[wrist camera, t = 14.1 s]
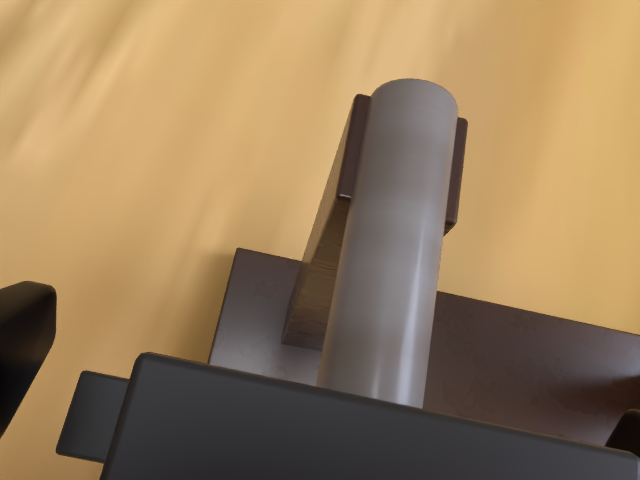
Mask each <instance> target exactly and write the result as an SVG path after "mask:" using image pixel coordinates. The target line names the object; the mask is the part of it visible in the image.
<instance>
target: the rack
mask: <svg viewBox="0 0 640 480" xmlns="http://www.w3.org/2000/svg"><path fill="white" fill-rule="evenodd" d="M467 127H468V122H467V120H466V119H464V118H460V117H458V106H457V103H456V101H455V98H454V97H453V95H452V94H451V93H450V92H449V91H447V90H446V89H445V88H443V87H441V86H439V85H437V84H435V83H432V82H429V81H426V80H420V79H398V80H393V81H390V82H387V83H385V84H383V85H381V86H380V87H378V88H377V89H376V90H375V91H374V93H373V94H372V95H371V96H367V95H362V94H357V95H356V96H355V98H354V100H353V103H352V106H351V109H350V112H349V115H348V119H347V122H346V125H345V128H344V131H343V134H342V137H341V140H340V144H339V147H338V150H337V153H336V156H335V159H334V162H333V165H332V168H331V172H330V175H329V178H328V181H327V184H326V187H325V190H324V193H323V197H322V200H321V203H320V206H319V209H318V212H317V215H316V218H315V222H314V225H313V228H312V231H311V234H310V237H309V240H308V243H307V247H306V250H305V253H304V256H303V259H302V261H298V260H293V259H289V258H284V257H280V256H275V255H270V254H266V253H261V252H257V251H252V250H247V249H243V248H237V249H236V252H235V256H234V260H233V264H232V268H231V272H230V276H229V280H228V284H227V288H226V292H225V296H224V300H223V304H222V308H221V311H220V315H219V319H218V323H217V327H216V331H215V335H214V339H213V343H212V347H211V351H210V355H209V359H208V363H207V364H210V365H215V366H220V367H225V368H230V369H234V370H239V371H244V372H249V373H254V374H258V375H263V376H268V377H273V378H278V379H282V380H287V381H292V382H297V383H302V384H307V385H311V386H316V387H321V388H326V389H331V390H335V391H340V392H345V393H350V394H355V395H359V396H364V397H369V398H374V399H379V400H383V401H388V402H393V403H398V404H403V405H408V406H412V407H417V408H422V409H427V410H432V411H436V412H441V413H446V414H451V415H456V416H460V417H465V418H470V419H475V420H480V421H485V422H489V423H494V424H499V425H504V426H509V427H513V428H518V429H523V430H528V431H533V432H537V433H542V434H547V435H552V436H557V437H562V438H566V439H571V440H576V441H581V442H586V443H590V444H595V445H600V446H605V444H606V442H607V440H608V439H609V437H610V435H611V434H612V432H613V430H614V429H615V427H616V425H617V424H618V422H619V420H620V419H621V417H622V415H623V414H624V413H625V412H626V411H628V410H630V409H637V410H640V335H637V334H633V333H628V332H623V331H619V330H614V329H610V328H605V327H601V326H596V325H591V324H587V323H582V322H578V321H573V320H568V319H564V318H559V317H555V316H550V315H546V314H541V313H536V312H532V311H527V310H523V309H518V308H513V307H509V306H504V305H500V304H495V303H490V302H486V301H481V300H477V299H472V298H468V297H463V296H458V295H454V294H449V293H445V292H440V291H437V285H438V276H439V268H440V259H441V251H442V243H443V237H444V236H445V235H446V234H447V233H448V232H449V231H450V230H451V229H452V228H453V227H454V226H455V224H456V223H457V217H458V208H459V199H460V190H461V181H462V172H463V163H464V154H465V145H466V136H467Z"/></svg>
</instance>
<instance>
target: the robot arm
mask: <svg viewBox="0 0 640 480" xmlns="http://www.w3.org/2000/svg"><path fill="white" fill-rule="evenodd" d="M56 303H57V295H56V291H55V289H54V288H53V287H52V286H51V285H46V284H42V283H37V282H32V281H23V282H20V283H17V284H14V285H11V286H8V287H5V288H2V289H0V438H1V437H2V435H3V434H4V432H5V430H6V429H7V427H8V425H9V424H10V422H11V420H12V418H13V417H14V415H15V413H16V411H17V409H18V407H19V406H20V404H21V402H22V400H23V398H24V396H25V395H26V393H27V391H28V389H29V387H30V385H31V384H32V382H33V380H34V378H35V376H36V374H37V373H38V371H39V369H40V367H41V365H42V363H43V362H44V360H45V358H46V356H47V354H48V352H49V351H50V349H51V347H52V345H53V342H54V339H55V334H56ZM605 447H610V448H614V449H619V450H624V451H629V452H631V453H633V454H634V455H636V456H638V457H639V458H640V410H637V409H630V410H628V411H626V412H625V413H624V414H623V415H622V417H621V419H620V420H619V422H618V424H617V425H616V427H615V429H614V430H613V432H612V434H611V435H610V437H609V439H608V440H607V442H606V444H605Z"/></svg>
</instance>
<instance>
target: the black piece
mask: <svg viewBox="0 0 640 480" xmlns="http://www.w3.org/2000/svg"><path fill="white" fill-rule="evenodd" d="M56 453H57V454H58V455H63V456H68V457H73V458H78V459H83V460H88V461H93V462H99V463H104V466H103V470H102V473H101V476H100V480H640V458H639V457H638V456H636V455H634V454H633V453H631V452H629V451H624V450H619V449H614V448H610V447H605V446H600V445H595V444H590V443H586V442H581V441H576V440H571V439H566V438H562V437H557V436H552V435H547V434H542V433H537V432H533V431H528V430H523V429H518V428H513V427H509V426H504V425H499V424H494V423H489V422H485V421H480V420H475V419H470V418H465V417H460V416H456V415H451V414H446V413H441V412H436V411H432V410H427V409H422V408H417V407H412V406H408V405H403V404H398V403H393V402H388V401H383V400H379V399H374V398H369V397H364V396H359V395H355V394H350V393H345V392H340V391H335V390H331V389H326V388H321V387H316V386H311V385H307V384H302V383H297V382H292V381H287V380H282V379H278V378H273V377H268V376H263V375H258V374H254V373H249V372H244V371H239V370H234V369H230V368H225V367H220V366H215V365H210V364H205V363H201V362H196V361H191V360H186V359H181V358H177V357H172V356H167V355H162V354H157V353H153V352H146V353H141V354H140V355H139V356H138V358H137V359H136V360H135V363H134V366H133V370H132V373H131V376H130V379H126V378H121V377H116V376H111V375H106V374H102V373H97V372H92V371H87V370H86V371H82V373H81V374H80V377H79V380H78V383H77V386H76V389H75V392H74V395H73V398H72V401H71V404H70V407H69V410H68V413H67V416H66V419H65V422H64V425H63V428H62V431H61V434H60V437H59V440H58V443H57V446H56Z"/></svg>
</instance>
